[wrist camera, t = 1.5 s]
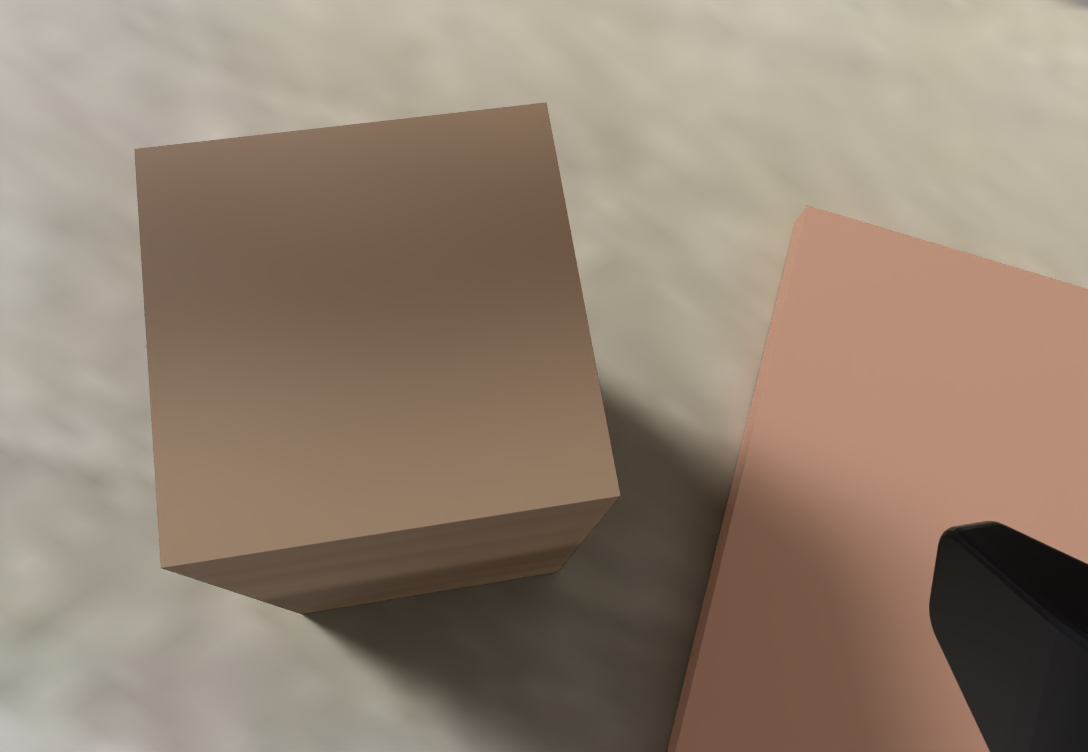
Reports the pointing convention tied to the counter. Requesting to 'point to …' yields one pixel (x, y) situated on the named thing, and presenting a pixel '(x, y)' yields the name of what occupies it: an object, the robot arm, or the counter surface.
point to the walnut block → (369, 359)
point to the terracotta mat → (880, 488)
